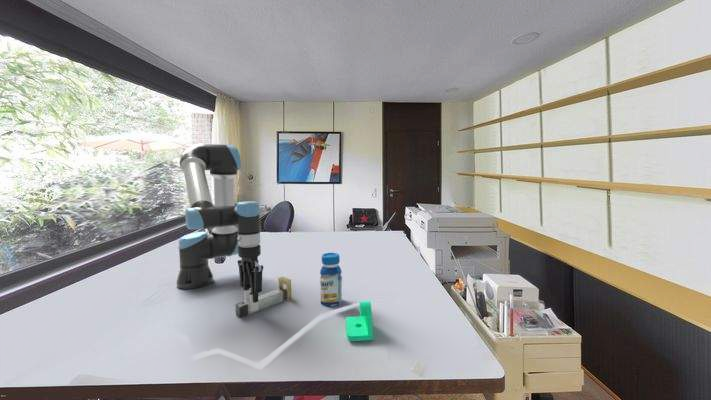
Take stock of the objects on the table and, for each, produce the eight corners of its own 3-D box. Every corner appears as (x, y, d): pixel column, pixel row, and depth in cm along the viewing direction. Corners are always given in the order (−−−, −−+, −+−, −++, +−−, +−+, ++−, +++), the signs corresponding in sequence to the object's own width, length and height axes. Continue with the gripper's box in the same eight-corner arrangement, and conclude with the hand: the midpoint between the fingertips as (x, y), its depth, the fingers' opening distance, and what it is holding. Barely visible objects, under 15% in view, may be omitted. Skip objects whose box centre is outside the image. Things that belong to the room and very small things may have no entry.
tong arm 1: (278, 298, 117) (277, 288, 117) (280, 299, 116) (280, 289, 116) (235, 315, 103) (235, 304, 103) (238, 316, 102) (237, 305, 102)
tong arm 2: (280, 299, 116) (280, 290, 116) (283, 300, 115) (282, 290, 115) (238, 316, 102) (237, 305, 102) (240, 318, 101) (239, 306, 101)
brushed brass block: (279, 297, 119) (278, 277, 118) (283, 295, 120) (282, 276, 120) (287, 300, 115) (286, 281, 114) (291, 299, 117) (291, 279, 116)
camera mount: (345, 324, 100) (345, 295, 99) (367, 323, 100) (367, 294, 99) (348, 344, 88) (347, 311, 87) (373, 343, 89) (373, 310, 88)
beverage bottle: (346, 304, 114) (346, 254, 112) (330, 312, 108) (329, 259, 106) (332, 298, 120) (331, 250, 118) (315, 305, 114) (314, 255, 112)
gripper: (227, 243, 107) (230, 305, 109) (251, 250, 96) (254, 319, 98) (247, 240, 112) (249, 299, 114) (271, 246, 102) (273, 311, 104)
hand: (251, 308), depth 106 cm, fingers open, 3 cm apart
